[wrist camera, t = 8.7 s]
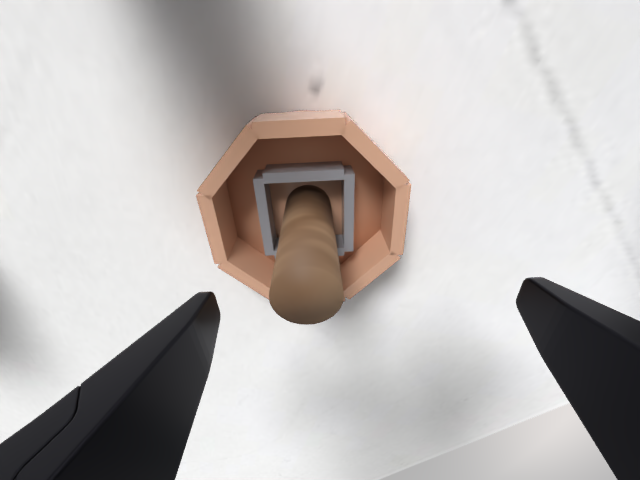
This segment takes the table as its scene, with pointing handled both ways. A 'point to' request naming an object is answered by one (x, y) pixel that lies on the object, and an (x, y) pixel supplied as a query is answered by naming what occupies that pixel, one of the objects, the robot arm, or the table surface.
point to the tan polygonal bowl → (297, 170)
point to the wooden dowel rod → (307, 260)
